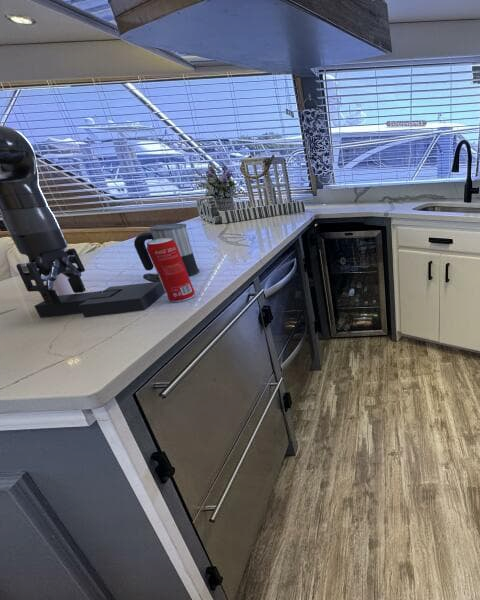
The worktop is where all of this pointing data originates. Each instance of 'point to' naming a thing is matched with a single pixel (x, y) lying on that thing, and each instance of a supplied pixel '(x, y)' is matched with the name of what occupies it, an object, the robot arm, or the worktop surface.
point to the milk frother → (178, 236)
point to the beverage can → (170, 269)
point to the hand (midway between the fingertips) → (68, 298)
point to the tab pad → (70, 303)
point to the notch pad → (124, 299)
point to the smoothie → (62, 285)
